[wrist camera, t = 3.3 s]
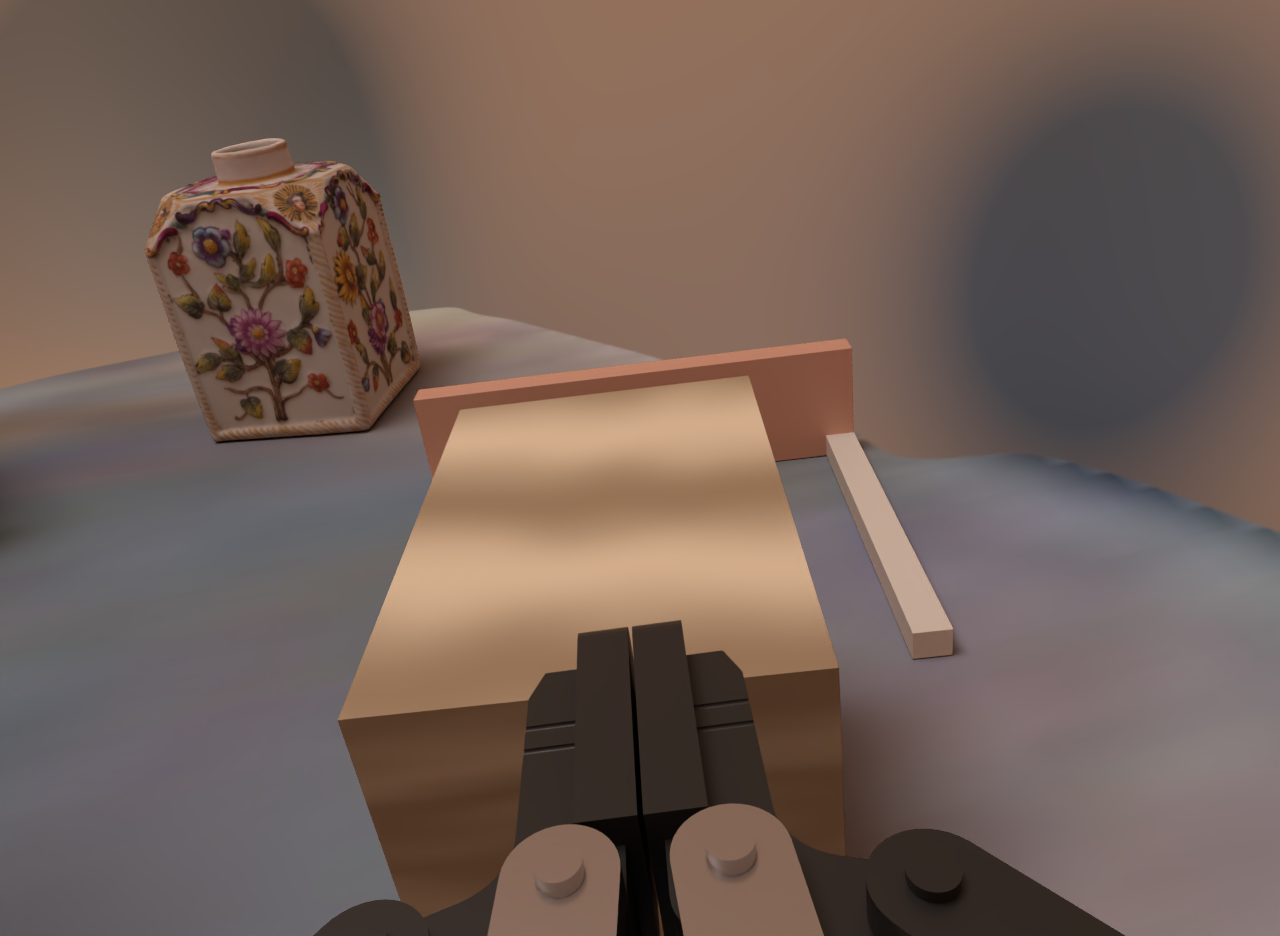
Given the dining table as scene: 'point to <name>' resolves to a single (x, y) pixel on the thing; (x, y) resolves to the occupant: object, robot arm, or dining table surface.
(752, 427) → the wooden block
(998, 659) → the dining table surface
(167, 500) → the dining table surface
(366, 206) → the decorative jar
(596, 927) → the robot arm
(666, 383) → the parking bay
